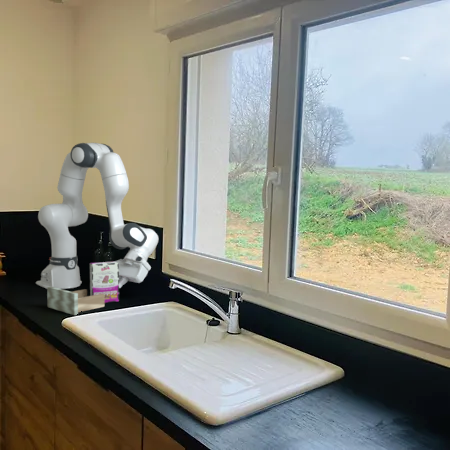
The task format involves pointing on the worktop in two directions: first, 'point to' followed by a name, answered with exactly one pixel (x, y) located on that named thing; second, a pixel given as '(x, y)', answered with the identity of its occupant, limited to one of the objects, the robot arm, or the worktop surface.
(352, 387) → the worktop surface
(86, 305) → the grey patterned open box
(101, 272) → the candy bar box
